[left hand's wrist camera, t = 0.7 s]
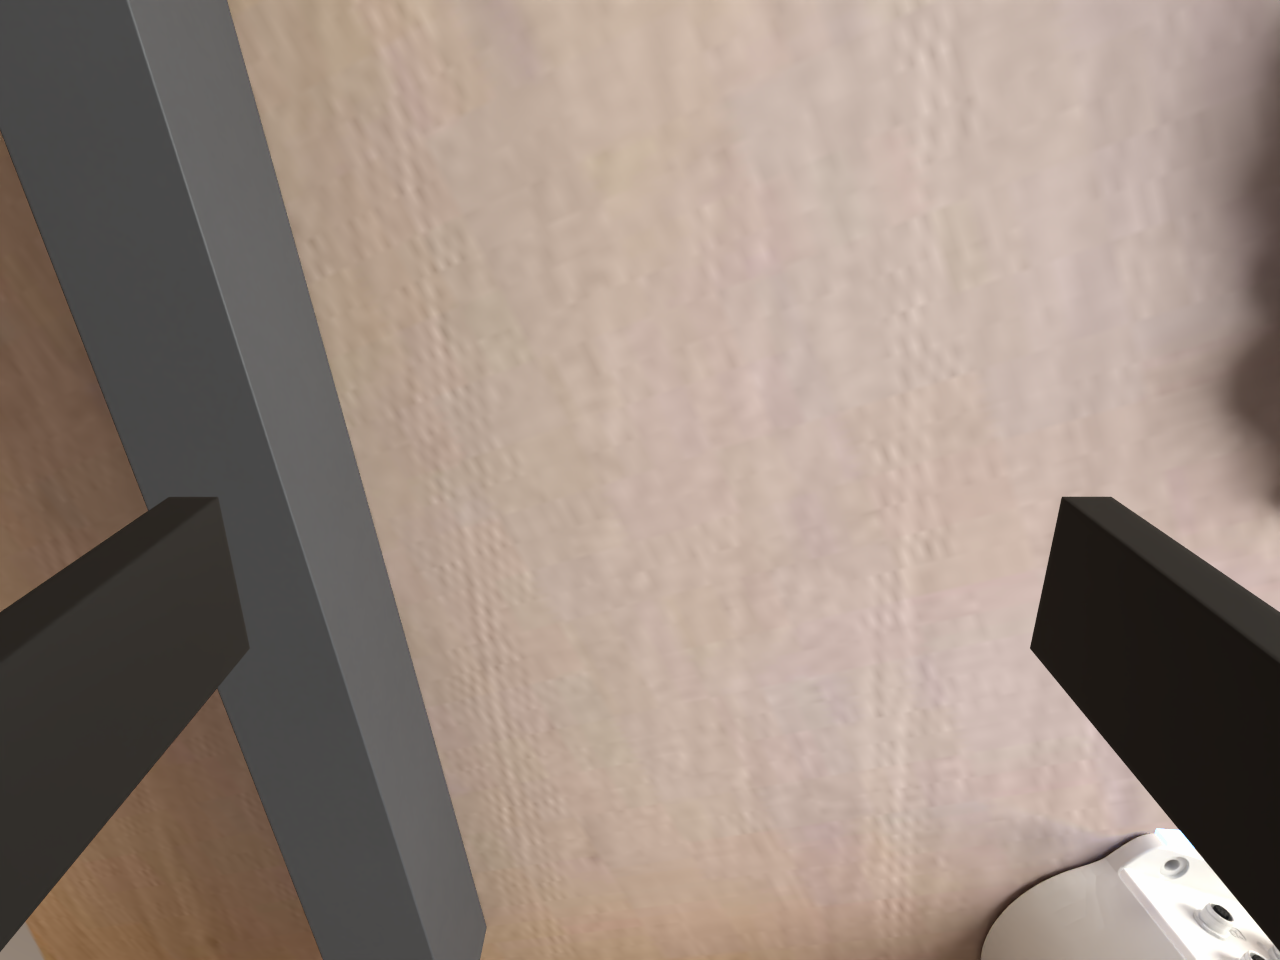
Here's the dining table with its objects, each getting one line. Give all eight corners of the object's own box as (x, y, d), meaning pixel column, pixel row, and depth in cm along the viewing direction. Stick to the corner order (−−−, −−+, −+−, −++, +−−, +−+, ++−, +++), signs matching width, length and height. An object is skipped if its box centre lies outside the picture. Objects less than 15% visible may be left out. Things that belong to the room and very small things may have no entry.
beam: (-1, -253, 28) (-205, -392, 21) (149, -280, 28) (-9, -428, 21) (399, 936, 49) (360, 1057, 42) (487, 927, 49) (462, 1048, 42)
